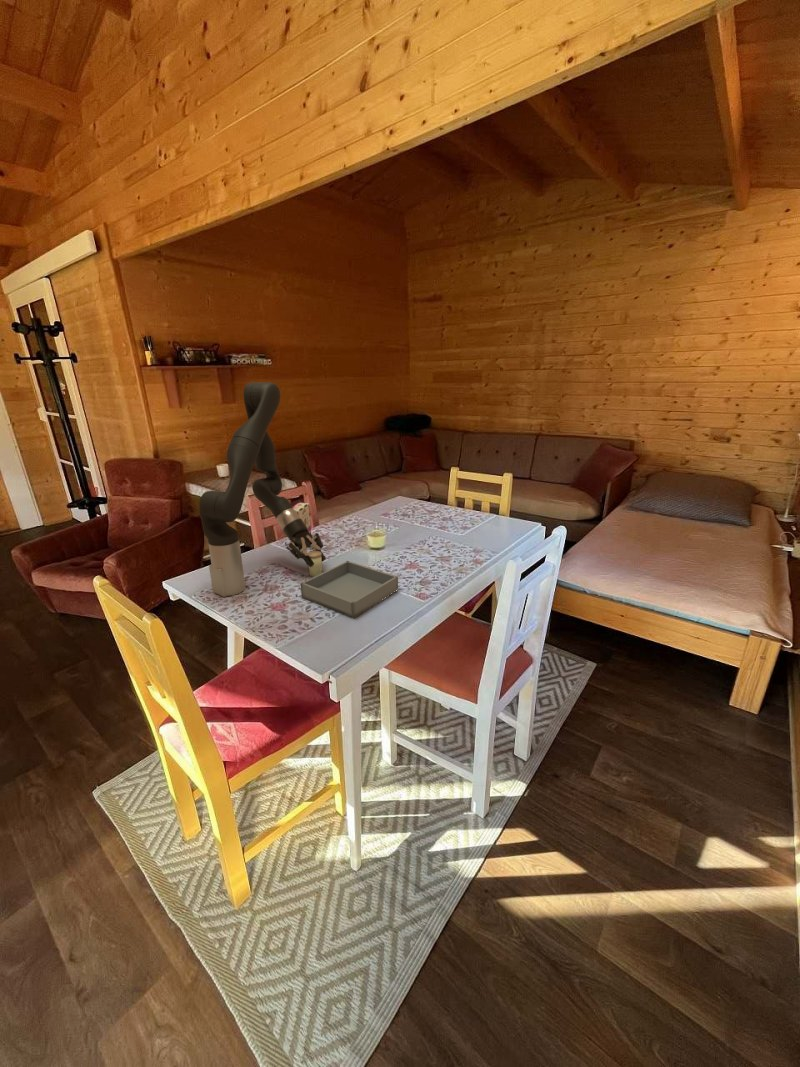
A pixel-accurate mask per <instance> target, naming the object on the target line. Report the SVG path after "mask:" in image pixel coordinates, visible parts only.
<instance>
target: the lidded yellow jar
mask: <svg viewBox="0 0 800 1067" xmlns="http://www.w3.org/2000/svg"><path fill="white" fill-rule="evenodd" d="M321 552H322V551H321ZM321 552H320V551H313V550H311V551H307V554H308V555H309V557H310V558H311V559H312V561H313V562H314V565H313V566H312V567H309V566H308V572H309V573H308V574H309V576H310V577H311V578H313V577H315V576H317V575H319V574H321V573H323V562H322V558H321V555H322V554H321Z"/></svg>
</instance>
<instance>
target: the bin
mask: <svg viewBox="0 0 800 1067" xmlns="http://www.w3.org/2000/svg"><path fill="white" fill-rule="evenodd" d="M397 589H398V590H399V577H398V575H397V576H396V575H394V574H390V573H388V572H384V571H381V570H378V569H375V568H372V567H367V566H366V565H362V564H360V563H356V562H353V561H349V560H346V561H345V562H342V563H340V564H338V565H336V566H333V567H331V568H330V569H327V570H326V571H322V573H321V574H319V575H317V576H315V577H311V578H309V579H306V580H305V581H303V582H301V583H300V593H301V598H302V599H305V600H307V601H309V602H312V603H315V604H317V605H319V606H321V607H324V608H326V609H329V610H331V611H334V612H336V613H339V614H341V615H343V616H344V615H345V616H346V617H349V618H351V619H355V618H357V617H359V616H360V615H362V614H364V613H365V612H366V610H367V611H368V610H370V609H371V608H373V607H374V606H376V605H377V604H376V603H378V602H379V601H381V600H382V599H384V598H385V597H387V596H388V595H390V594H391V593H393V592H394V591H396V590H397ZM396 592H397V591H396ZM393 594H394V593H393ZM390 596H391V595H390ZM387 598H388V597H387ZM385 599H386V598H385ZM385 599H384V600H385ZM382 601H383V600H382ZM382 601H381V602H382ZM379 603H380V602H379ZM379 603H378V604H379ZM375 604H376V605H375ZM372 606H373V607H372ZM369 608H370V609H369Z"/></svg>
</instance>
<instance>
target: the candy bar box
mask: <svg viewBox="0 0 800 1067" xmlns="http://www.w3.org/2000/svg"><path fill="white" fill-rule="evenodd" d="M309 504H310V503H308V502H307V503H306V502H297V503H296V504H294V505H293V506H292V507H293V509H294V510H295V511H296V512H297V513H298V515H299V516H300V518H301V519H302V521H303V522H304V524H305V525H306V527H307V529H308V532H309V533H310V534H311V535H312V528H311V516H310V515H311V514H310V505H309ZM289 543H291V540H289ZM295 547H296V546H295ZM296 548H297V549H298V547H296Z"/></svg>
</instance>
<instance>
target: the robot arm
mask: <svg viewBox="0 0 800 1067" xmlns="http://www.w3.org/2000/svg"><path fill="white" fill-rule="evenodd" d="M242 395H243V402H244V407H245V411H246V415H247V416H246V417H247V421H245V422H244V423H243V424H242V425H240V426H239V427H238V429H237V430H235V432H234V433H233V434H232V436H231V439H230V441H229V444H228V447H227V449H226V462H227V465H228V468H229V472H230V479H229V482H228V485H227V487H226V490H225V491H221V490H219V491H218V490H207V491H204V493H203V494H201V496H200V499H199V503H198V510H199V516H200V519H201V525H202V529H203V533H204V536H205V537H206V539H207V542H208V543H207V544H208V550H209V551H208V552H209V557H210V563H211V564H210V565H208V569H209V574H210V575H209V576H210V582H211V587H212V592H213V593H214V594H216V595H218V596H221V597H222V598H225V597H228V596H235V595H237V594H240V593H242V592H244V591H245V590H246V580H245V573H244V564H243V560H242V551H241V544H240V543H241V542H240V537H239V536H240V535H239V531H238V530H237V529H236V528H234V527H232V526H231V525H229V524H228V523H232V522H234V521H236V520H237V518H238V517H239V515H240V513H241V512H242V511H241V510H242V506H243V503H244V500H245V494H246V493H247V492H246V491H247V487H248V483H249V481H250V478H251V477H250V476H251V474H252V470H253V469H254V466H255V468H256V470H257V471H258V472H263V473H264V474H265V477H264V478H263V477H262V478H258V479H256V480H254V481H253V483H252V486H251V487H252V488H251V489H252V492H253V495H254V496H255V498H256V499H258V501H259V502H261V503H262V505H264V506H265V507H266V508H268V509H269V510H270V512H271V513H272V515H273V516H274V517H275V519H276V521H277V523H278V525H279V526H280V528H281V529H282V531H283V532H284V535H286V537H287V538H288V540H289V541H290V540H291V542H289V544H288V545H286V549H287V551H289V552H290V554H292V556H294V557H295V558H296V559H297V560H301V559H302V560H304V562H305V564H306V565H307V567H308V568H309V567H312V566H313V565H314V562H313V561H312V559H311V558H310V557H309V555H308V551H307V550H308V549H309V550H311V551H320V552H321V554H322V555H321V558H322V563H323V562H324V561H325V560H326V556H325V554H324V553H323V552H322V549H323V548H324V544H323V542H322V539H321V536H320V534H319V533H318V532H316V533H313V534H312V533H311V534H310V533H309V532H308V529H307V527H306V525H305V524H304V522H303V521H302V519H301V518H300V516H299V515H298V513H297V512H296V511H295V510H294V509H293V506H292V505H291V502H290V501H289V500H288V498H286V497H284V496H279V495H280V494H281V492H282V489H283V483H282V479H281V477H280V472H279V470H278V466H277V463H276V462H277V460H276V449H275V445H274V442H273V440H272V439H271V436H270V435H269V433H268V432H267V431H268V429H269V426H270V424H271V422H272V420H273V418H274V416H275V415H276V411H277V410H278V407H279V405H280V402H281V390H280V388H279V386H278V385H277V384H276V383H273V382H269V381H268V382H266V381H265V382H264V381H262V382H261V381H260V382H255V381H251V382H248V383H246V384H245V386H244V388H243V394H242ZM295 546H296V547H298V549H297V548H296V547H295Z"/></svg>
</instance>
